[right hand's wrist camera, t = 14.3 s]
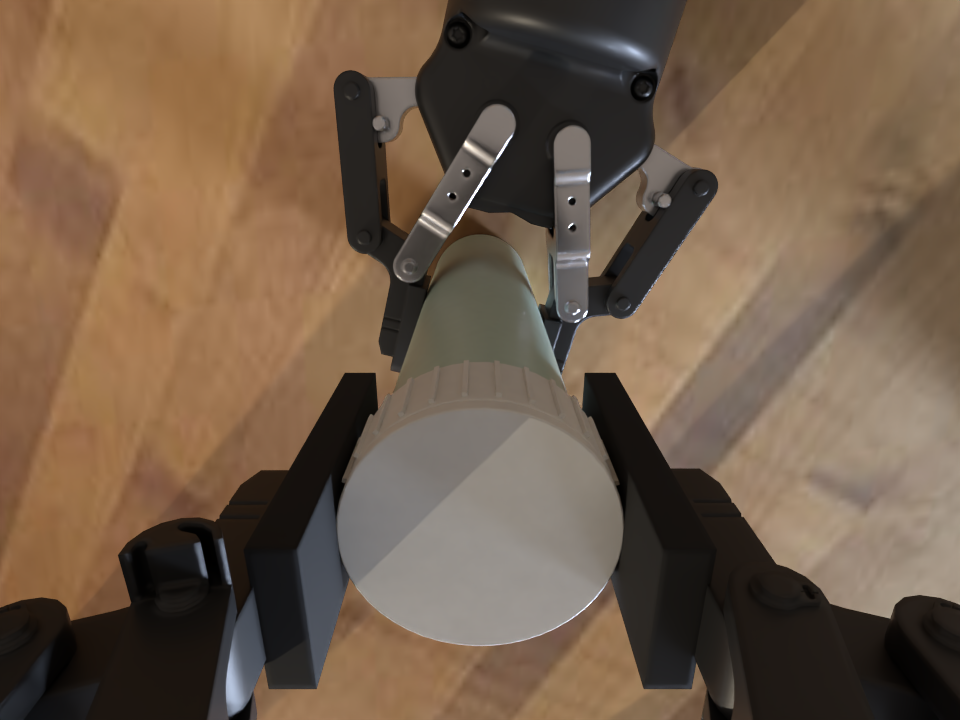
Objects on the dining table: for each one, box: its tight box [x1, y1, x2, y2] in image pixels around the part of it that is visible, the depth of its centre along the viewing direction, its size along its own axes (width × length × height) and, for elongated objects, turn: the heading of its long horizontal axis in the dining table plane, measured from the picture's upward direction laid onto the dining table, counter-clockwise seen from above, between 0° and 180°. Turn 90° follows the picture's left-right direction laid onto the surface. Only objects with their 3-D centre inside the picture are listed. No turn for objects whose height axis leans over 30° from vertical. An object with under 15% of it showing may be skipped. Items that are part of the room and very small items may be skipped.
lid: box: [336, 360, 624, 646], centre depth 11 cm, size 5×5×2 cm
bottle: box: [393, 234, 567, 393], centre depth 20 cm, size 5×5×20 cm
